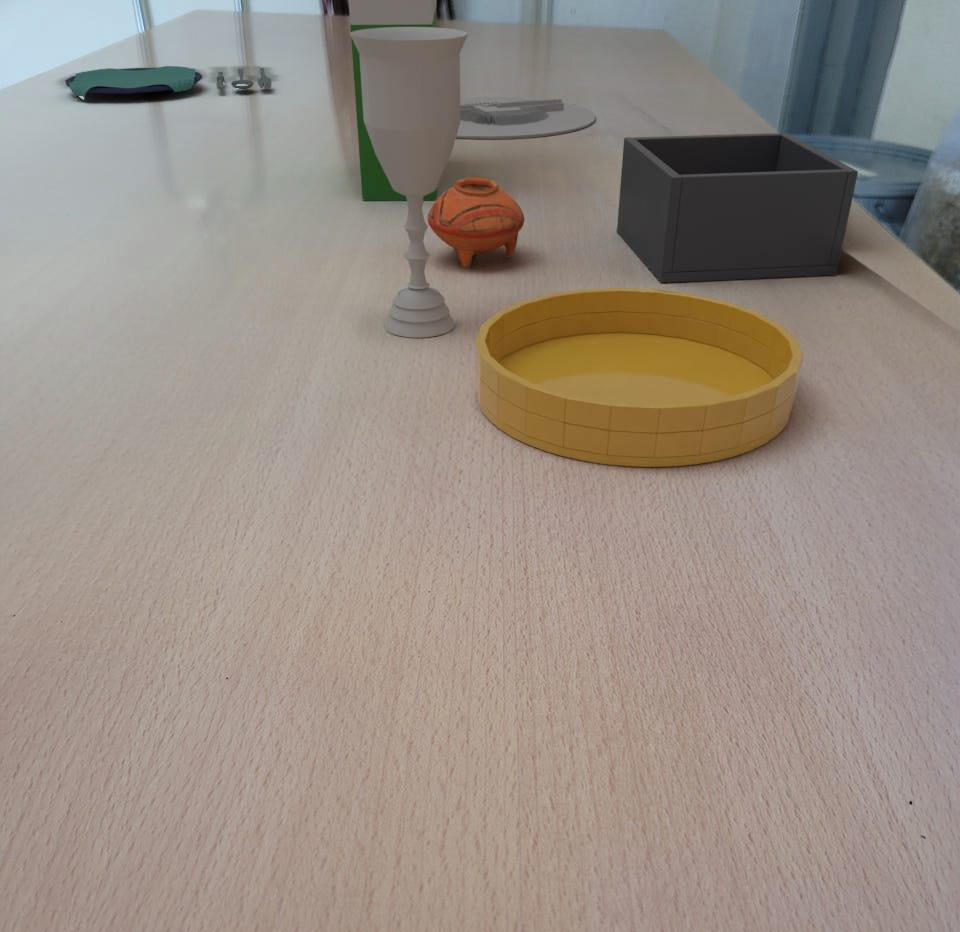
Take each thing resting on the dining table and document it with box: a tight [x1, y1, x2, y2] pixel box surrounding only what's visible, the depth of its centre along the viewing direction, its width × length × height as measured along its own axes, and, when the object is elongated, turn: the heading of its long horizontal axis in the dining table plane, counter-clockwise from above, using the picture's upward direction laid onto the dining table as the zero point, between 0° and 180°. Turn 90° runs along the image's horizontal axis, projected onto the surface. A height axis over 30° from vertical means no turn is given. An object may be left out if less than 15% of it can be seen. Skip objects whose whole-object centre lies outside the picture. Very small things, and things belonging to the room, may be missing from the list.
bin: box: [616, 132, 859, 284], centre depth 83 cm, size 15×15×8 cm
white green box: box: [348, 0, 439, 201], centre depth 99 cm, size 18×7×24 cm, turn 1°
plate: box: [456, 96, 596, 140], centre depth 134 cm, size 28×28×1 cm
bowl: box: [474, 287, 804, 468], centre depth 61 cm, size 19×19×4 cm
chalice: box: [349, 27, 469, 339], centre depth 66 cm, size 7×7×18 cm
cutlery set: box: [64, 65, 273, 98], centre depth 151 cm, size 20×30×2 cm, turn 102°
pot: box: [427, 176, 525, 268], centre depth 83 cm, size 8×8×7 cm
